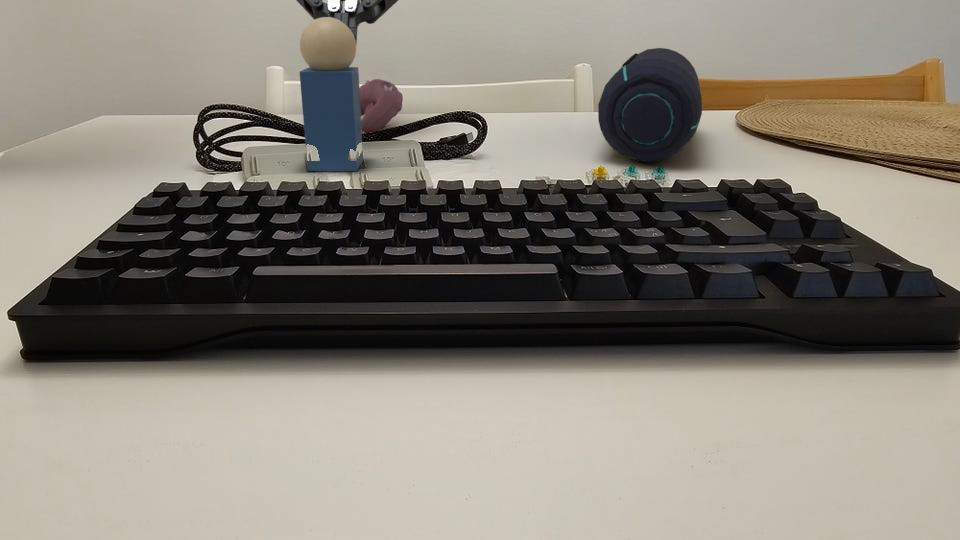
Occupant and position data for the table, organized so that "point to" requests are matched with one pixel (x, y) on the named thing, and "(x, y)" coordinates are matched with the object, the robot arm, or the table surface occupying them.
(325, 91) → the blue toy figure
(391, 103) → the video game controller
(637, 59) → the portable speaker
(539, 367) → the table surface
